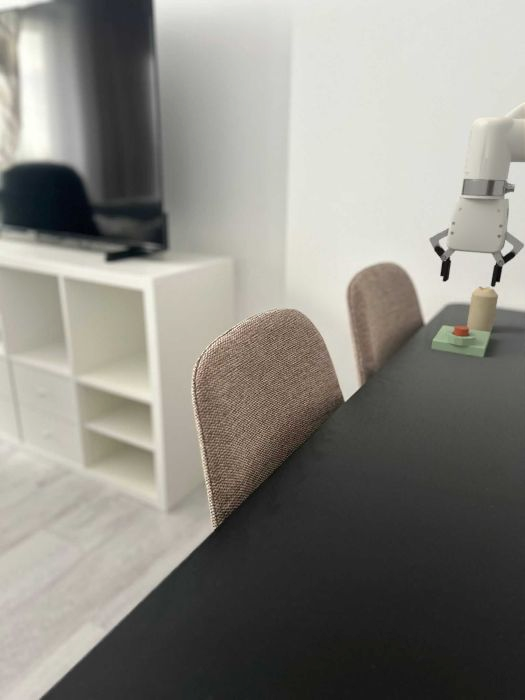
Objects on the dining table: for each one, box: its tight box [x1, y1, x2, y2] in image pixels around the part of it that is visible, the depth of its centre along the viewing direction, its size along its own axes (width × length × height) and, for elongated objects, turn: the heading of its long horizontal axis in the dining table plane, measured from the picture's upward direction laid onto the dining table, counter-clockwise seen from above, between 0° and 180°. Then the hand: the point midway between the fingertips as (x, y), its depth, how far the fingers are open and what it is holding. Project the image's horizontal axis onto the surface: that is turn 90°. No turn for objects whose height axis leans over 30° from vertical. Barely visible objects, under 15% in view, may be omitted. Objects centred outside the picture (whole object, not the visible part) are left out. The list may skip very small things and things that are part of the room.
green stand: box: [431, 324, 492, 358], centre depth 108 cm, size 10×14×4 cm
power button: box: [453, 325, 469, 337], centre depth 104 cm, size 3×3×2 cm
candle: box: [466, 286, 499, 333], centre depth 118 cm, size 6×6×10 cm
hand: (468, 282), depth 100 cm, fingers open, 8 cm apart
